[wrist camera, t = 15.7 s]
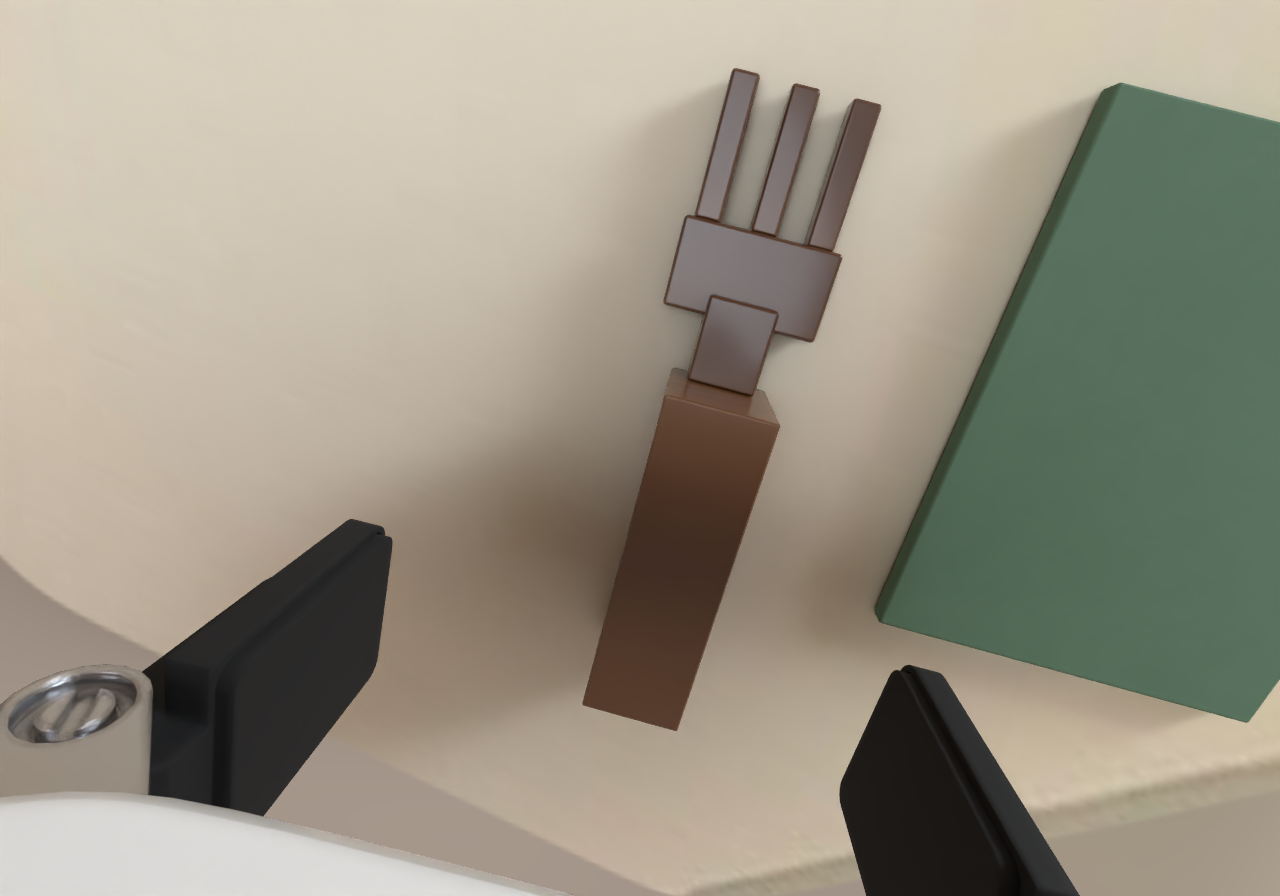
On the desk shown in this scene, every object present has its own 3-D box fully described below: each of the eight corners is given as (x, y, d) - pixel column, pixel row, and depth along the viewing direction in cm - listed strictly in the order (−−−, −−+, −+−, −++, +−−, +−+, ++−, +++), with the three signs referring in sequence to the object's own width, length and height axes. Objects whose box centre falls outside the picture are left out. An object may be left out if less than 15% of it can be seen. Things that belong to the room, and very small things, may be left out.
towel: (1229, 708, 16) (1248, 724, 16) (872, 610, 16) (879, 623, 16) (1583, 210, 12) (1627, 207, 11) (1101, 89, 12) (1120, 80, 12)
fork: (701, 655, 17) (701, 738, 14) (583, 623, 17) (557, 699, 14) (883, 113, 13) (940, 67, 10) (722, 72, 13) (729, 14, 10)
